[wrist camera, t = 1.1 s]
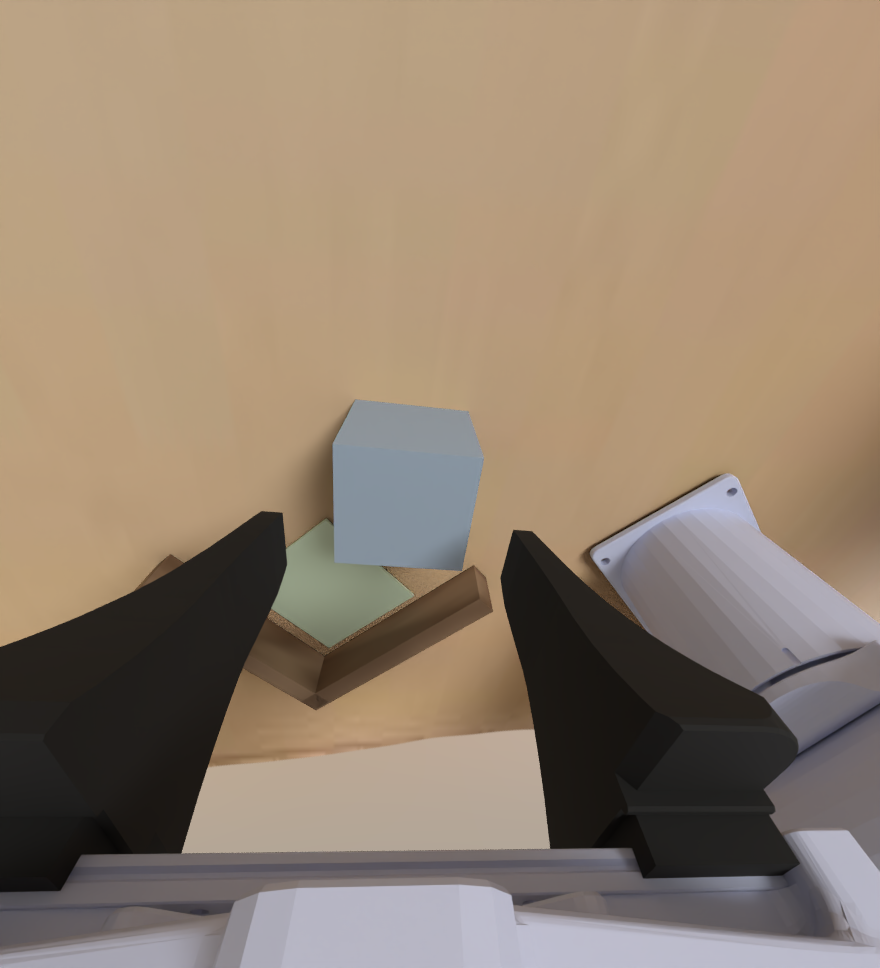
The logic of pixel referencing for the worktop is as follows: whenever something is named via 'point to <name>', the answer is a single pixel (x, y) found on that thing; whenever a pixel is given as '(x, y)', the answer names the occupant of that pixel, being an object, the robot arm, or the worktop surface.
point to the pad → (333, 589)
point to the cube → (404, 486)
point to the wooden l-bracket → (360, 641)
